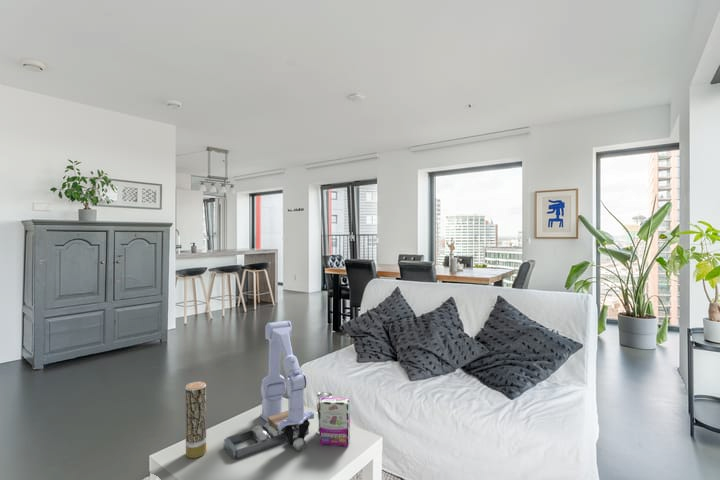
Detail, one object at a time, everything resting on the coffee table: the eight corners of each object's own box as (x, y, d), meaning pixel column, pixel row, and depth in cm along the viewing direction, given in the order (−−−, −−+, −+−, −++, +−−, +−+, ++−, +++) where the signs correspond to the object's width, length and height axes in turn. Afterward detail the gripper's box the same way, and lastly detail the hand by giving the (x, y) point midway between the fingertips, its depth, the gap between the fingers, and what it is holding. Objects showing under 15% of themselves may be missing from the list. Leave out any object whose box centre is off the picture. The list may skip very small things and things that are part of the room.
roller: (286, 443, 142) (286, 432, 142) (295, 439, 145) (295, 429, 144) (296, 452, 136) (296, 442, 136) (306, 449, 138) (306, 438, 138)
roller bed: (223, 446, 140) (223, 434, 140) (294, 422, 158) (294, 411, 158) (234, 460, 131) (234, 448, 131) (308, 433, 150) (308, 422, 150)
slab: (267, 422, 149) (267, 417, 149) (294, 413, 157) (294, 408, 157) (277, 430, 143) (277, 425, 143) (304, 421, 150) (304, 416, 150)
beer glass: (334, 428, 153) (334, 391, 153) (331, 437, 147) (331, 399, 146) (317, 427, 154) (317, 391, 154) (314, 436, 147) (314, 398, 147)
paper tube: (198, 460, 131) (198, 389, 131) (181, 458, 132) (181, 388, 132) (210, 449, 138) (210, 382, 138) (193, 447, 139) (193, 380, 139)
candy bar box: (350, 440, 144) (350, 397, 144) (348, 447, 139) (348, 403, 139) (322, 438, 146) (322, 396, 146) (319, 445, 141) (319, 402, 141)
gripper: (283, 416, 132) (283, 454, 132) (318, 404, 141) (318, 440, 141) (274, 409, 138) (274, 445, 138) (308, 398, 147) (308, 432, 147)
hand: (296, 442), depth 140 cm, fingers closed on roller, 4 cm apart
